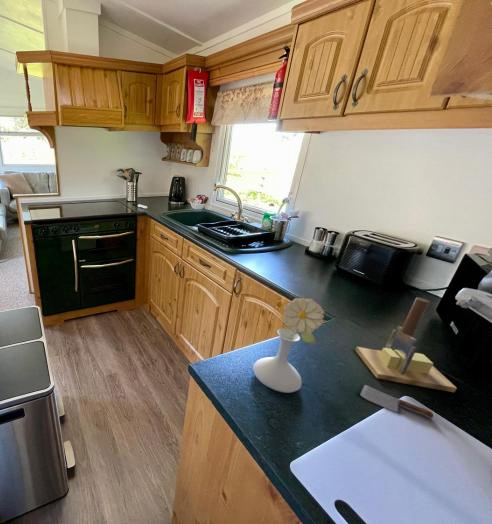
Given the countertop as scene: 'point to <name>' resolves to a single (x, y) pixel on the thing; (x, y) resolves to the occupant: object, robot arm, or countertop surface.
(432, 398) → the countertop surface
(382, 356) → the butter slice
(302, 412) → the countertop surface
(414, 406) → the cleaver
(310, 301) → the flower in vase
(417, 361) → the butter block
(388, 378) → the butter board
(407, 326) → the knife
